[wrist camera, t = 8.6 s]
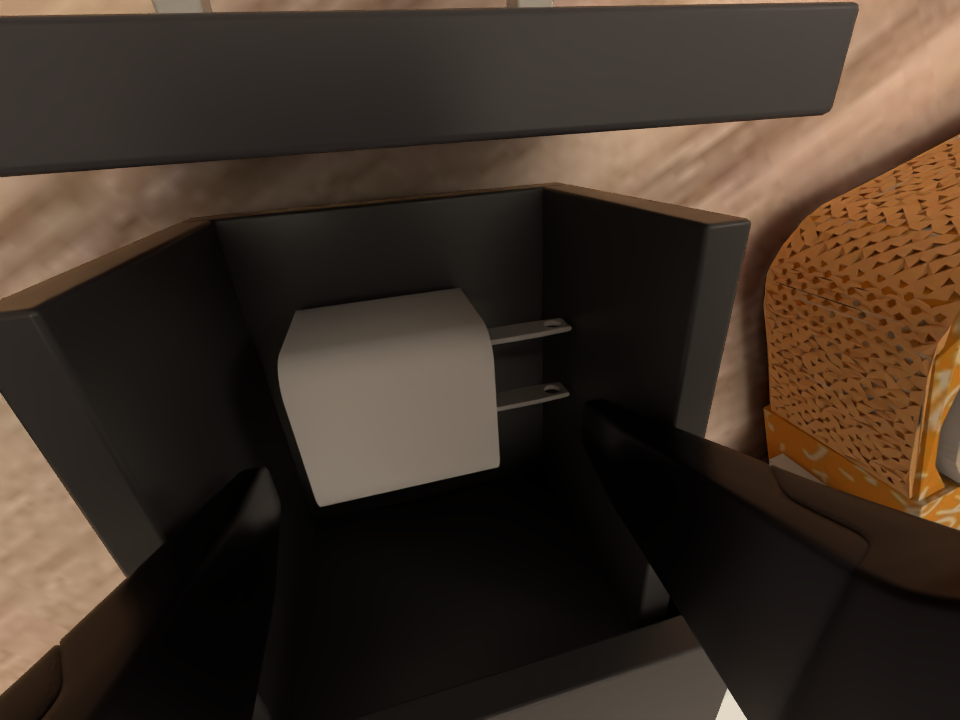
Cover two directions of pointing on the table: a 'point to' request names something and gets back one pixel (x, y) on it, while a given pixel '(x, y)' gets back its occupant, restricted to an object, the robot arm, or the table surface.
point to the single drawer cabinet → (589, 683)
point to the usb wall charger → (398, 391)
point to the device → (873, 341)
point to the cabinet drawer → (383, 274)
